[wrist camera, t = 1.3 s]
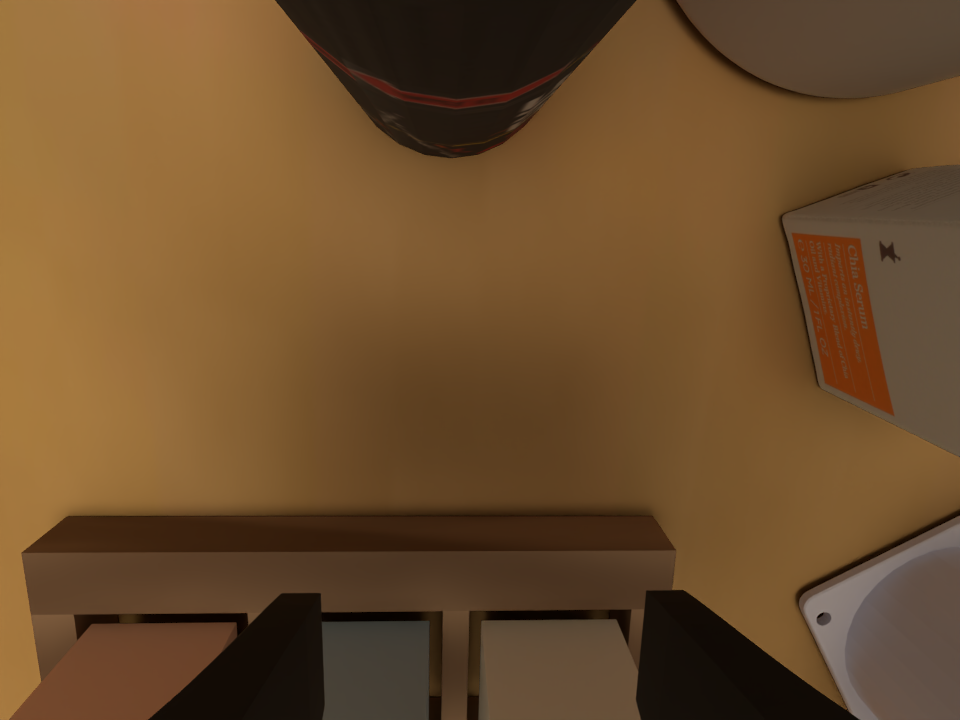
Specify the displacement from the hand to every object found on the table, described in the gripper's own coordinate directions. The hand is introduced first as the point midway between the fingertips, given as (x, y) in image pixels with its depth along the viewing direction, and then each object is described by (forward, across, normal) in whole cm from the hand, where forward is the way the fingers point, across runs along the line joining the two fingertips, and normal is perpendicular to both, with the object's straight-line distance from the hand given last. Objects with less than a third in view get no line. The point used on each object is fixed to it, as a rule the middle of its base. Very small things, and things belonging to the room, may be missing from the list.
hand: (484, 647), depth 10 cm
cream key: (+8, -3, +8) cm, 12 cm away
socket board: (+10, +3, +8) cm, 13 cm away
